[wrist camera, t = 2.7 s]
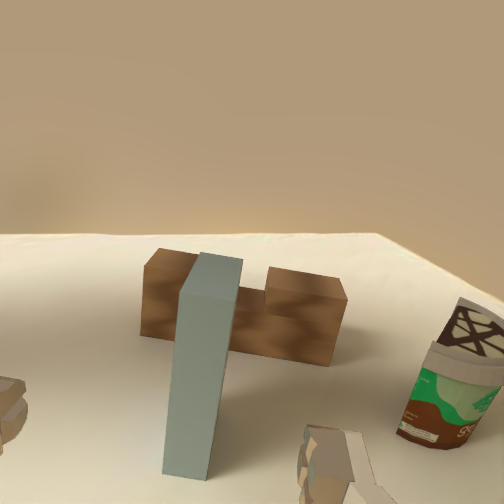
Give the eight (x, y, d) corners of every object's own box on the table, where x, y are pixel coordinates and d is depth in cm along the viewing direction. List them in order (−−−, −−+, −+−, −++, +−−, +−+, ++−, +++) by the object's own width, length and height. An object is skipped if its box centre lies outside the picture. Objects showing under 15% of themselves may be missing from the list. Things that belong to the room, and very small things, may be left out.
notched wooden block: (140, 335, 38) (144, 265, 35) (154, 310, 43) (159, 247, 40) (328, 366, 38) (347, 300, 35) (322, 339, 43) (339, 278, 40)
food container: (471, 496, 27) (530, 390, 23) (390, 444, 30) (430, 343, 26) (490, 408, 36) (535, 323, 33) (427, 375, 40) (460, 295, 36)
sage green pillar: (161, 473, 25) (179, 292, 20) (182, 406, 30) (200, 252, 25) (205, 480, 25) (234, 301, 20) (218, 412, 30) (243, 259, 25)
